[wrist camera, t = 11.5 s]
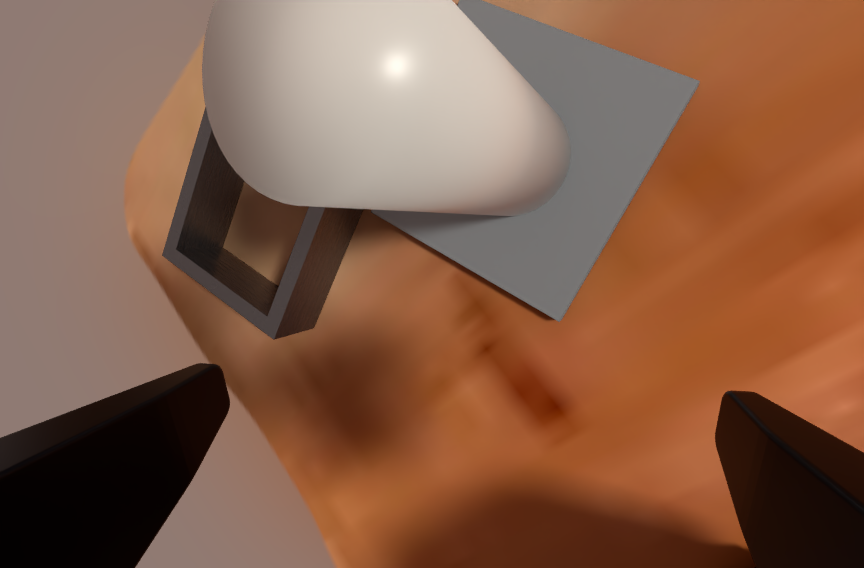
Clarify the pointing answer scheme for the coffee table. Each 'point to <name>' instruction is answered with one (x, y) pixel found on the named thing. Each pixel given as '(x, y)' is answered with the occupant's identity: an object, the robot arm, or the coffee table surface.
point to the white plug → (377, 108)
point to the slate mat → (589, 163)
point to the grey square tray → (230, 277)
